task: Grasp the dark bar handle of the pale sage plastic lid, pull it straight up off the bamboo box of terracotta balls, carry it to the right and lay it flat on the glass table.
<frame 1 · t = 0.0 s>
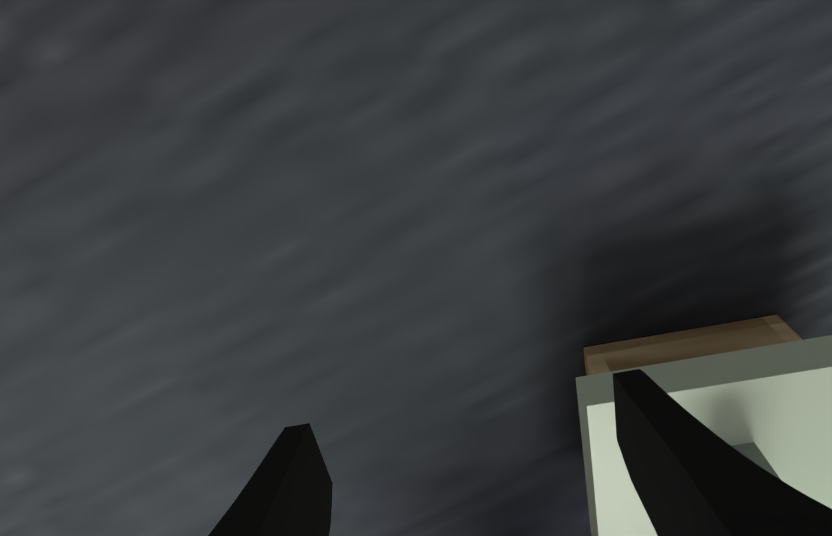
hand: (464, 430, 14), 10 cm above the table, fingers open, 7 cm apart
lid: (719, 471, 23), point 4 cm above the table, touching box
box: (678, 403, 27), on the table
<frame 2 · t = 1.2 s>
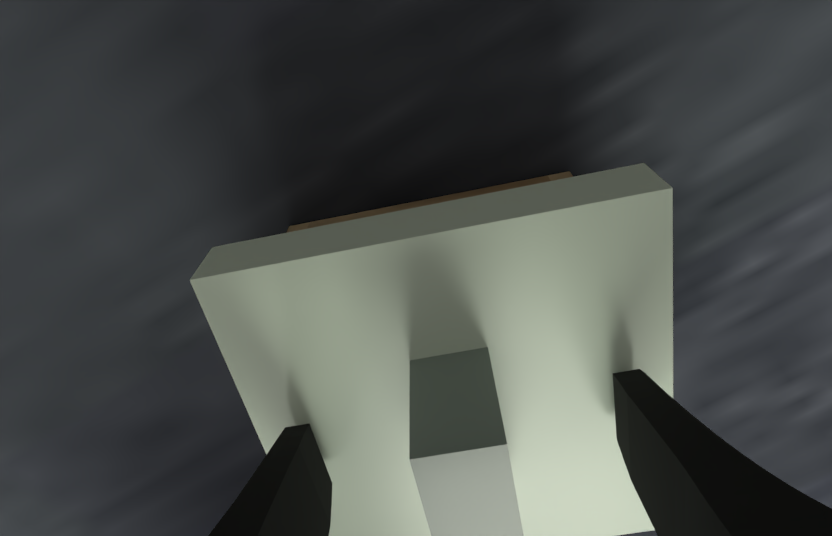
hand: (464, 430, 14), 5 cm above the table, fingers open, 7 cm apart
lid: (461, 403, 15), point 4 cm above the table, touching box
box: (451, 317, 18), on the table
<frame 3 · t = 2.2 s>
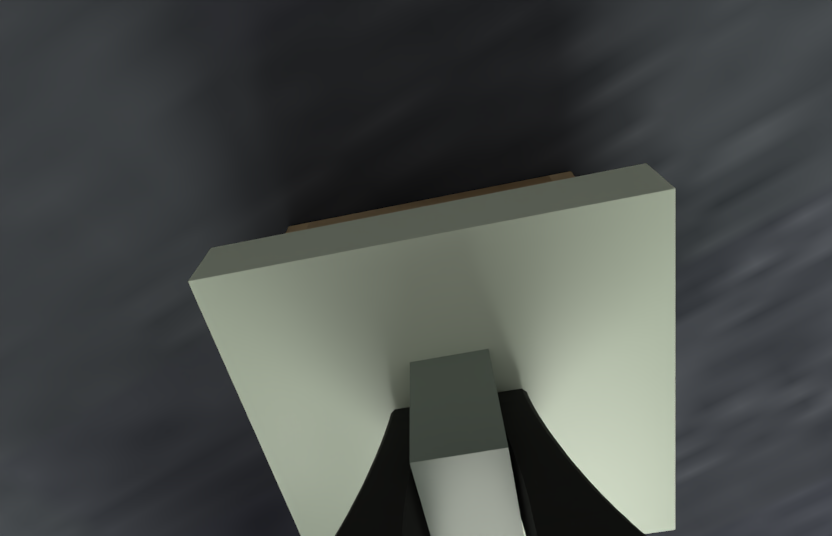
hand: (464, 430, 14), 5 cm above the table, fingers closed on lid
lid: (461, 405, 15), point 4 cm above the table, touching box, gripper
box: (451, 318, 18), on the table
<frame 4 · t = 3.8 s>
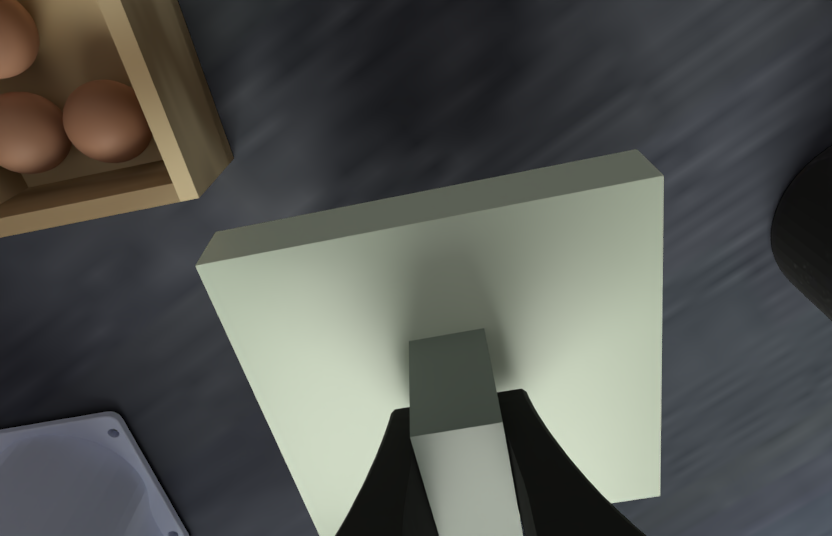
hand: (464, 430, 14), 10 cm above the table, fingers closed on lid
lid: (458, 380, 15), point 9 cm above the table, touching gripper
box: (81, 69, 20), on the table
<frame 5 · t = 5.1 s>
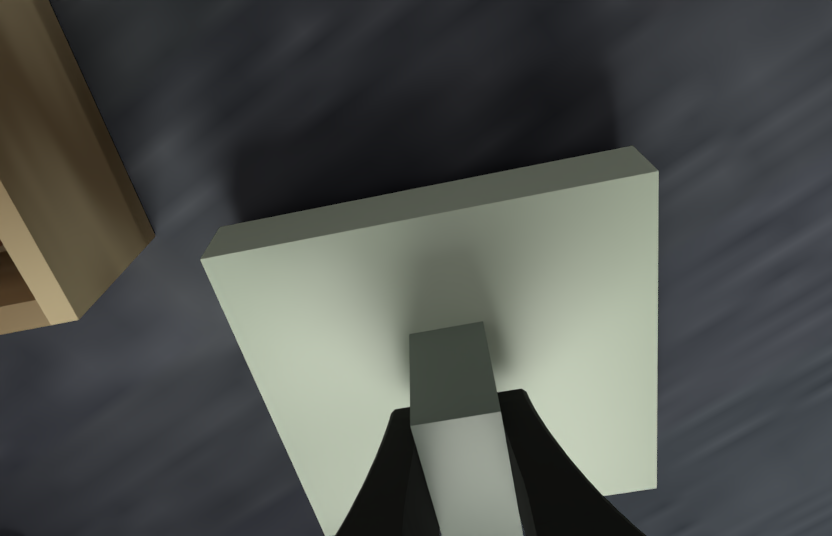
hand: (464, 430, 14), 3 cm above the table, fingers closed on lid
lid: (457, 373, 16), point 1 cm above the table, touching gripper
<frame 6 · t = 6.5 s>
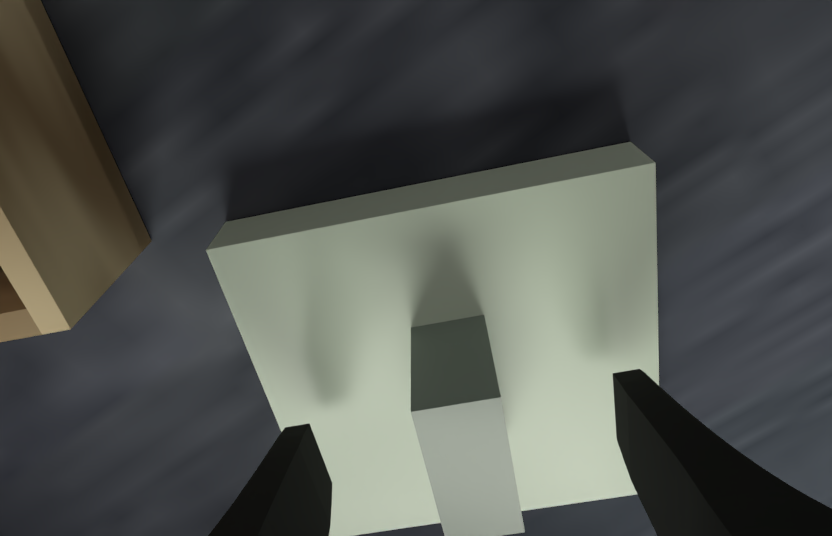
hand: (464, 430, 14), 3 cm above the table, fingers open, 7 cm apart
lid: (459, 370, 16), point 1 cm above the table
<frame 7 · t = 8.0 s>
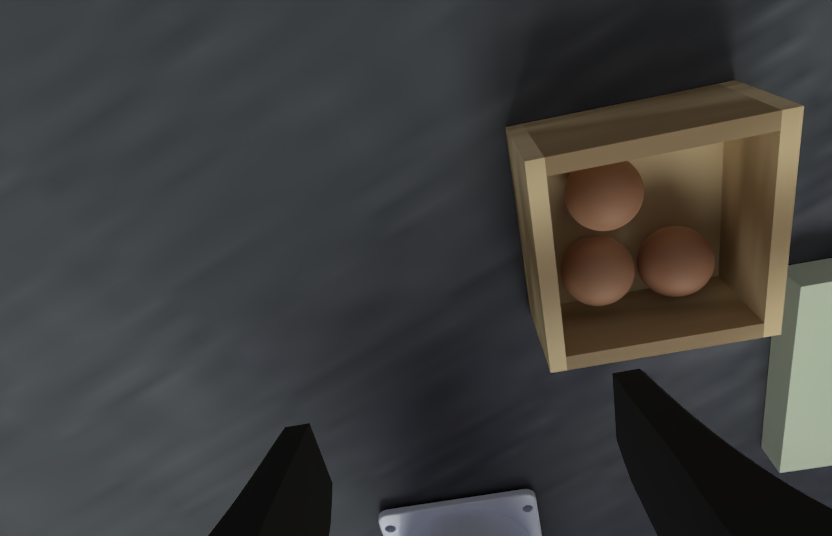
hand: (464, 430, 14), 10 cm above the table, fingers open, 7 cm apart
box: (623, 208, 22), on the table
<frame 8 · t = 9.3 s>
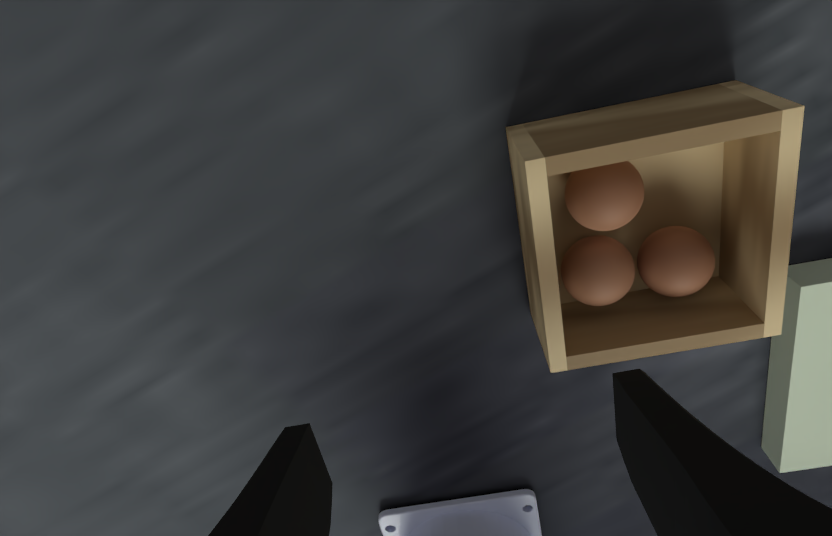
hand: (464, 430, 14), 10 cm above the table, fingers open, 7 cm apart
box: (623, 208, 22), on the table
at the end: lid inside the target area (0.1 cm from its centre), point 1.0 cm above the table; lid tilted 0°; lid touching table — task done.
